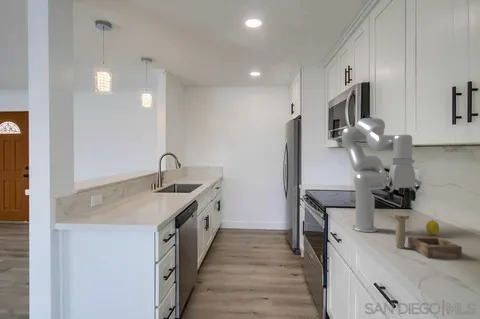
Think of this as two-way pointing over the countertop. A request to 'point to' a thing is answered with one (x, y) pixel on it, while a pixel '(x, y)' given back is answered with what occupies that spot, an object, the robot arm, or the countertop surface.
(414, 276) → the countertop surface
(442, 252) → the square frame
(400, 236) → the handle
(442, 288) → the countertop surface
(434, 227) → the lemon
